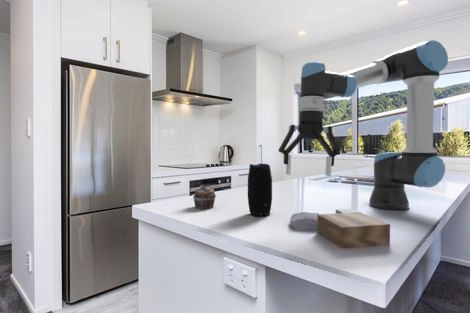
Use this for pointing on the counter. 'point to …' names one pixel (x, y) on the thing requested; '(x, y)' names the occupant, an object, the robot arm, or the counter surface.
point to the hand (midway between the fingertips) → (308, 175)
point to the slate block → (346, 211)
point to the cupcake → (204, 197)
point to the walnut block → (353, 230)
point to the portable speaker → (259, 189)
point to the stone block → (304, 221)
